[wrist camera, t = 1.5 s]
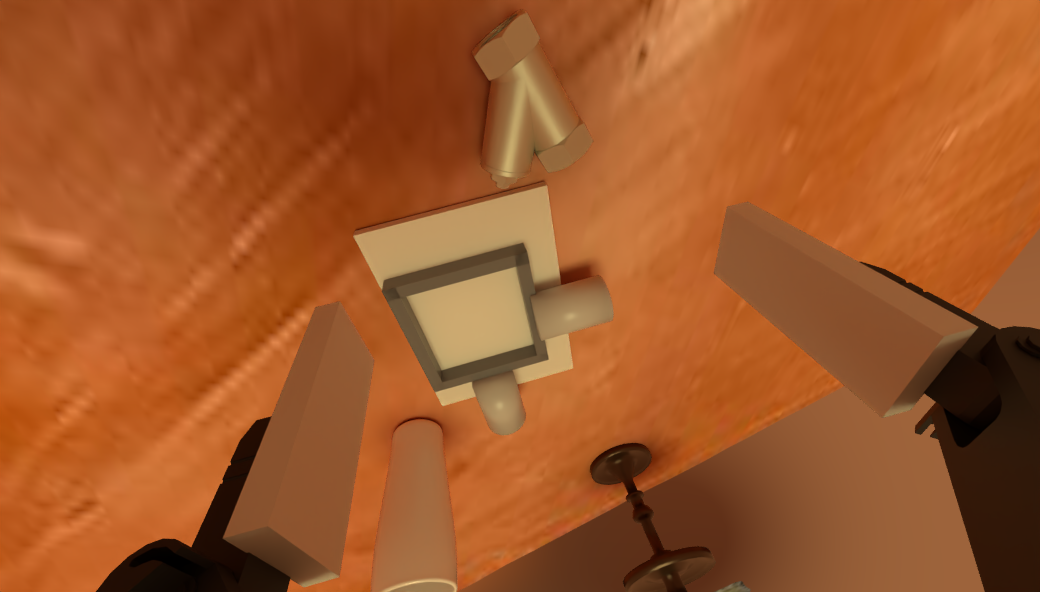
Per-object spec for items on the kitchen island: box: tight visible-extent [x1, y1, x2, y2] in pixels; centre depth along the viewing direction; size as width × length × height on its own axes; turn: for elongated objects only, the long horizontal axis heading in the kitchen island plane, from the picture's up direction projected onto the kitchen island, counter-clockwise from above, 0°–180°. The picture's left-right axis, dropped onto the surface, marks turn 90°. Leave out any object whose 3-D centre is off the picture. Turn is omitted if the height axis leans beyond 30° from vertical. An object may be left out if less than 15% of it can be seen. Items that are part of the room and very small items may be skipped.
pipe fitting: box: [472, 9, 593, 189], centre depth 23 cm, size 8×4×7 cm
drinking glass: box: [371, 419, 457, 592], centre depth 35 cm, size 7×7×15 cm
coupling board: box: [353, 182, 613, 435], centre depth 31 cm, size 22×17×5 cm
